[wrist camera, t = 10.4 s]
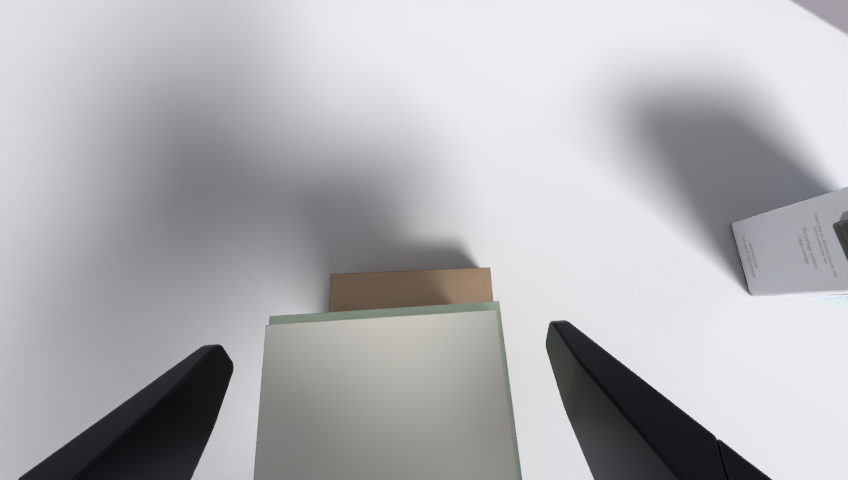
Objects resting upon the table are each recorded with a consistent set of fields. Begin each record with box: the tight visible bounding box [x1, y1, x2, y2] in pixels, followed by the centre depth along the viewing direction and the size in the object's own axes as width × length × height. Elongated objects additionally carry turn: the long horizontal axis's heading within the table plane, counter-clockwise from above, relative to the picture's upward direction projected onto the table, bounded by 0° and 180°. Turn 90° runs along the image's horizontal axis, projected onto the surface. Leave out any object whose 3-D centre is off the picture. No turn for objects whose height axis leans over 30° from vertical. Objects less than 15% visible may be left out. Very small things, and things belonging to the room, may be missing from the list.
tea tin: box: [254, 301, 522, 480], centre depth 11 cm, size 4×5×10 cm
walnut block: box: [329, 268, 493, 312], centre depth 17 cm, size 9×9×3 cm
